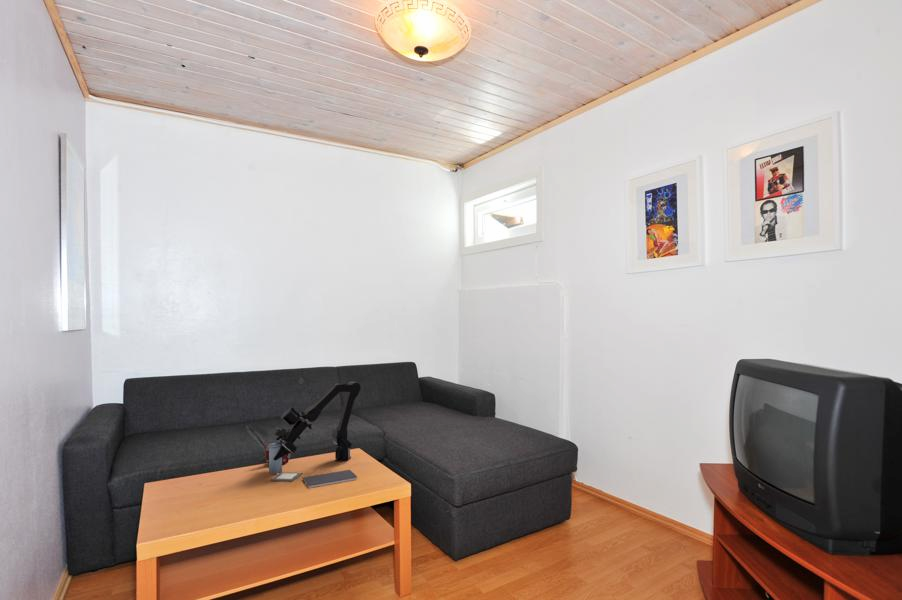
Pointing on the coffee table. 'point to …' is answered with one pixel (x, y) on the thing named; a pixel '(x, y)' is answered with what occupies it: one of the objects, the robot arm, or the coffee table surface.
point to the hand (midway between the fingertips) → (272, 458)
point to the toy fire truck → (284, 458)
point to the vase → (274, 465)
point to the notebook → (329, 478)
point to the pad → (286, 477)
